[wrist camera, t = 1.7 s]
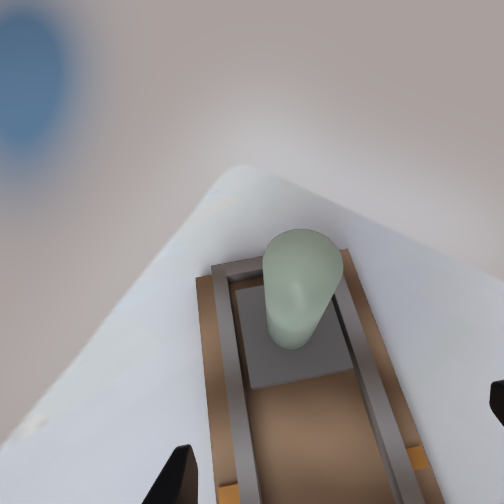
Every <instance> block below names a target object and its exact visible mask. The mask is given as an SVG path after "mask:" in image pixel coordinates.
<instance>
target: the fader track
mask: <svg viewBox="0 0 504 504" xmlns="http://www.w3.org/2000/svg"><path fill="white" fill-rule="evenodd" d="M339 251H340V254H341V256H342V260H343V274H342V277H341V280H340V282H339V284H338V286H337V288H336V290H335V292H334V294H333V296H332V297H331V299H332V302H333V305H334V308H335V311H336V314H337V317H338V320H339V323H340V327H341V330H342V333H343V336H344V339H345V342H346V345H347V348H348V351H349V354H350V358H351V361H352V364H353V367H354V368H352V369H350V370H348V371H346V372H341V373H336V374H331V375H326V376H321V377H316V378H311V379H306V380H301V381H296V382H291V383H286V384H281V385H276V386H271V387H266V388H261V389H256V390H253V389H252V388H251V385H250V379H249V372H248V366H247V360H246V354H245V347H244V341H243V335H242V329H241V322H240V316H239V310H238V304H237V298H236V291H235V290H241V289H246V288H251V287H256V286H261V285H264V277H263V256H261V257H255V258H250V259H245V260H239V261H234V262H229V263H224V264H218V265H213V266H211V270H212V275H208V276H203V277H197V278H196V289H197V300H198V310H199V321H200V332H201V343H202V353H203V364H204V375H205V385H206V396H207V407H208V417H209V428H210V439H211V449H212V460H213V471H214V482H215V492H216V503H217V504H445V502H444V500H443V497H442V495H441V492H440V489H439V487H438V484H437V482H436V479H435V476H434V474H433V471H432V468H431V466H430V463H429V461H428V458H427V455H426V453H425V450H424V447H423V445H422V442H421V440H420V437H419V434H418V432H417V429H416V427H415V424H414V421H413V419H412V416H411V413H410V411H409V408H408V406H407V403H406V400H405V398H404V395H403V393H402V390H401V387H400V385H399V382H398V379H397V377H396V374H395V372H394V369H393V366H392V364H391V361H390V359H389V356H388V353H387V351H386V348H385V345H384V343H383V340H382V338H381V335H380V332H379V330H378V327H377V324H376V322H375V319H374V317H373V314H372V311H371V309H370V306H369V304H368V301H367V298H366V296H365V293H364V290H363V288H362V285H361V283H360V280H359V277H358V275H357V272H356V270H355V267H354V264H353V262H352V259H351V256H350V254H349V251H348V249H345V250H339Z"/></svg>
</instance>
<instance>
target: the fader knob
mask: <svg viewBox="0 0 504 504" xmlns="http://www.w3.org/2000/svg"><path fill="white" fill-rule="evenodd" d="M342 274H343V260H342V256H341V254H340V251H339V250H338V248H337V247H336V245H335V244H334V243H333V242H332V241H331V240H330V239H329V238H327V237H326V236H324V235H323V234H320V233H318V232H316V231H312V230H307V229H295V230H290V231H287V232H284V233H282V234H280V235H278V236H277V237H275V238H274V239H273V240H272V241H271V242H270V243H269V245H268V246H267V248H266V250H265V252H264V256H263V277H264V285H261V286H256V287H251V288H246V289H241V290H235V291H236V298H237V304H238V310H239V316H240V322H241V329H242V335H243V341H244V347H245V354H246V360H247V366H248V372H249V379H250V385H251V388H252V389H253V390H256V389H261V388H266V387H271V386H276V385H281V384H286V383H291V382H296V381H301V380H306V379H311V378H316V377H321V376H326V375H331V374H336V373H341V372H346V371H348V370H350V369H352V368H354V367H353V364H352V361H351V358H350V354H349V351H348V348H347V345H346V342H345V339H344V336H343V333H342V330H341V327H340V323H339V320H338V317H337V314H336V311H335V308H334V305H333V302H332V299H331V297H332V296H333V294H334V292H335V290H336V288H337V286H338V284H339V282H340V280H341V277H342Z"/></svg>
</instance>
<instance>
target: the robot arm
mask: <svg viewBox="0 0 504 504" xmlns="http://www.w3.org/2000/svg"><path fill="white" fill-rule="evenodd" d="M489 404H490V407H491V410H492V412H493V413H494V414H495V416H496V417H497V418H498V420H499V421H500V422H501V424H502V425H503V426H504V380H499V381H494V382H493V383H492V384H491V389H490V401H489ZM142 504H198V467H197V463H196V459H195V456H194V453H193V450H192V447H191V445H189V444H187V445H182V446H178V447H176V448H175V449H174V451H173V453H172V454H171V456H170V458H169V459H168V461H167V463H166V464H165V466H164V467H163V469H162V471H161V472H160V474H159V476H158V477H157V479H156V481H155V482H154V484H153V486H152V487H151V489H150V491H149V492H148V494H147V496H146V497H145V499H144V501H143V502H142Z"/></svg>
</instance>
